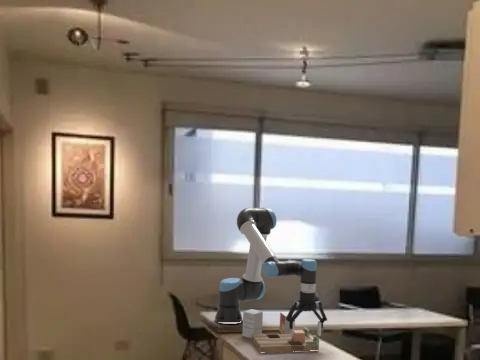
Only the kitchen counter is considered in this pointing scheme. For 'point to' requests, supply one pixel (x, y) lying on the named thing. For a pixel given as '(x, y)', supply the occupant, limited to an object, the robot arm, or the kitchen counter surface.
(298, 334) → the block
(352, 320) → the kitchen counter surface
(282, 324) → the small box
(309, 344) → the tray
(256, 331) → the supplement box
